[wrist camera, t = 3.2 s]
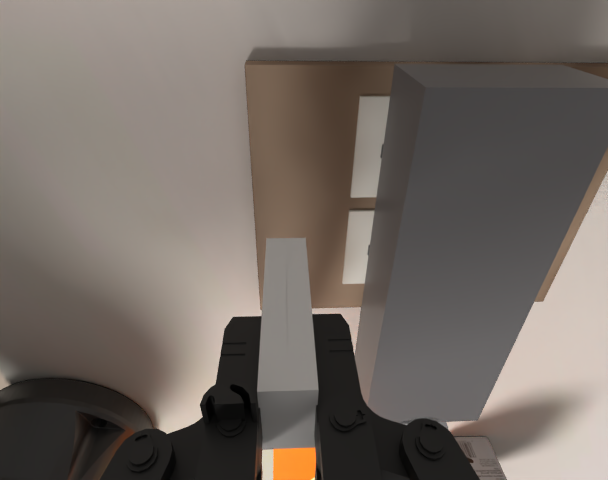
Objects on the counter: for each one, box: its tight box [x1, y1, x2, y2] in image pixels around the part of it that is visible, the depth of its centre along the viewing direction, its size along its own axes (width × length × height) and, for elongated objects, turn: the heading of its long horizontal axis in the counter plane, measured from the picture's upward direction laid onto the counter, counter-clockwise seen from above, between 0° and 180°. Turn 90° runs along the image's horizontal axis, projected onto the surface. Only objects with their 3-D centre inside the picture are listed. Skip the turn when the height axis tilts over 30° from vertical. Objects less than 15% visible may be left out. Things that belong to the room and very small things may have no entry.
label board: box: [245, 61, 608, 310], centre depth 27 cm, size 22×24×3 cm
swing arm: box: [355, 64, 608, 429], centre depth 23 cm, size 8×26×4 cm, turn 179°
